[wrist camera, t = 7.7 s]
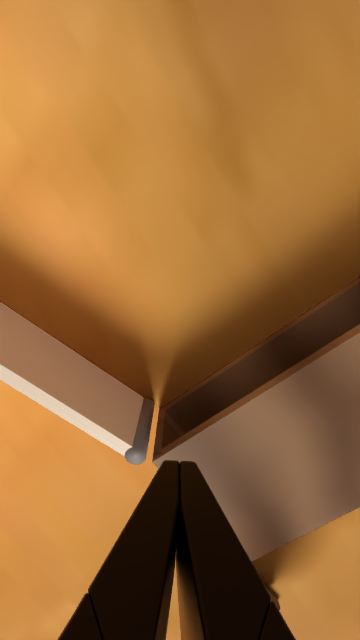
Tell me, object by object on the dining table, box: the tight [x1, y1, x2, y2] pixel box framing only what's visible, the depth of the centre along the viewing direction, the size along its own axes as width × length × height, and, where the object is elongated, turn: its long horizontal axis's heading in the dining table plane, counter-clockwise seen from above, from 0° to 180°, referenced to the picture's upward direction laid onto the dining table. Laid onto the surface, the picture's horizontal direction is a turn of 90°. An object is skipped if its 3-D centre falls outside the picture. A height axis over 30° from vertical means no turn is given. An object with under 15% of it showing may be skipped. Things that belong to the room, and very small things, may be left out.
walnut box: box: [152, 277, 360, 562], centre depth 18 cm, size 18×10×5 cm, turn 127°
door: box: [0, 302, 154, 465], centre depth 17 cm, size 17×2×5 cm, turn 52°
